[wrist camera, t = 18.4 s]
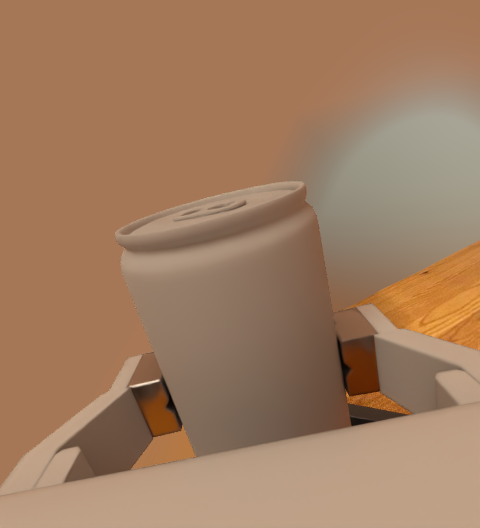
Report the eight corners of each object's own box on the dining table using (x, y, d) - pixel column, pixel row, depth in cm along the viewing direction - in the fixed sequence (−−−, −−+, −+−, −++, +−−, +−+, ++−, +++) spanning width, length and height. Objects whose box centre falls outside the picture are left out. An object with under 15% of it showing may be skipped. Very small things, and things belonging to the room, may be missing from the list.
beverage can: (380, 643, 8) (303, 204, 4) (217, 599, 10) (54, 253, 6) (362, 466, 12) (315, 171, 8) (251, 457, 14) (171, 205, 10)
